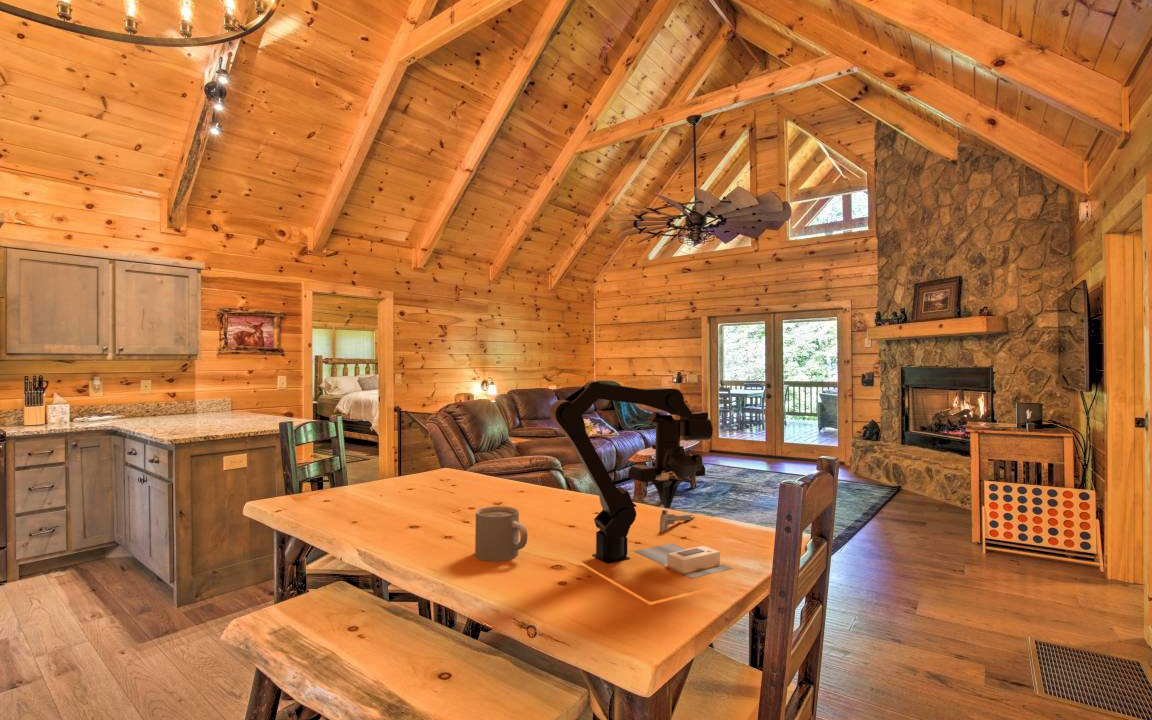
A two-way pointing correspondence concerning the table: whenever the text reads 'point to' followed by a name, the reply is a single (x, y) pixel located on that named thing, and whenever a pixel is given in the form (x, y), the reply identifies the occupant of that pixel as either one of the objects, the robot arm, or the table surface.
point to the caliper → (671, 519)
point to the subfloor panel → (660, 557)
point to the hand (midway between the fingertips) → (667, 507)
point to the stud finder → (693, 558)
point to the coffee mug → (498, 533)
